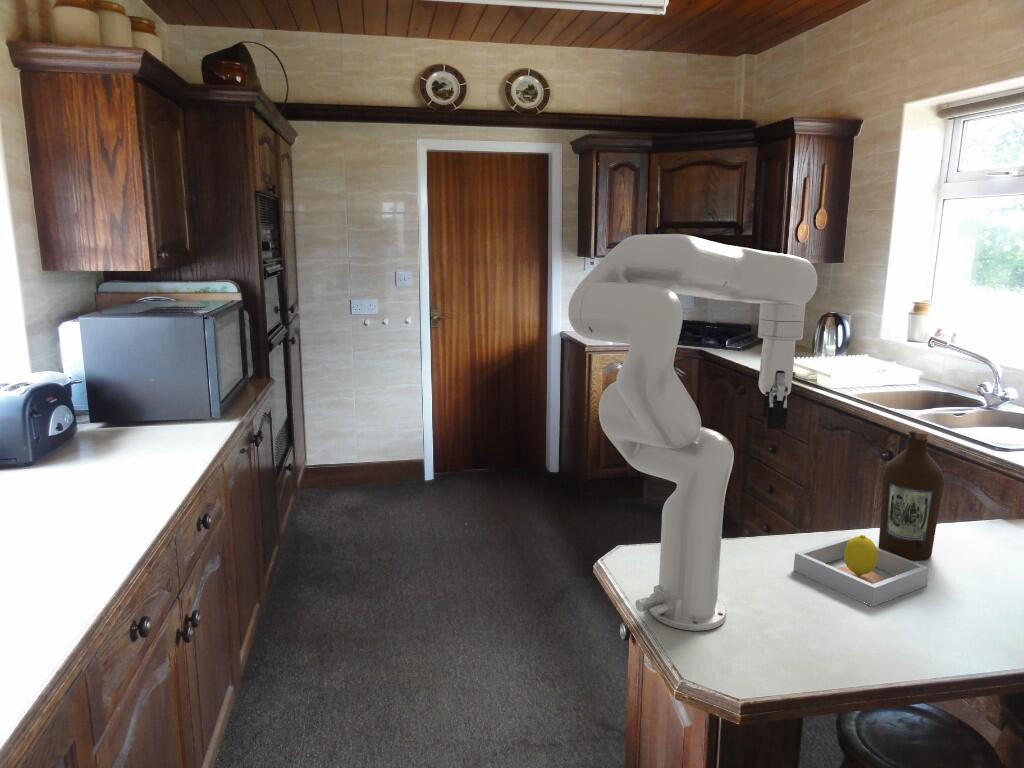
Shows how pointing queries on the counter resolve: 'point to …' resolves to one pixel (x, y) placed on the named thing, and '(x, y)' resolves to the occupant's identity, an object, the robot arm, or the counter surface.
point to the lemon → (860, 555)
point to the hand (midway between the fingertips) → (773, 422)
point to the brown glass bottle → (911, 501)
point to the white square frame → (866, 585)
